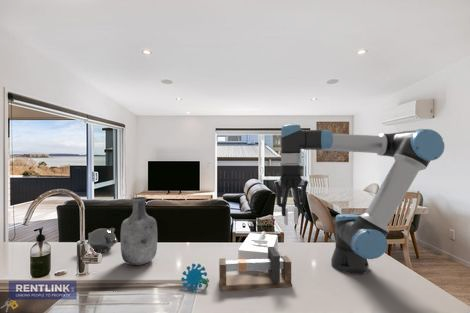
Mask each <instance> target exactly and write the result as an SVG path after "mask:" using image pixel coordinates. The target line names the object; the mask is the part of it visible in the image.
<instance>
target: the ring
mask: <svg viewBox="0 0 470 313" xmlns="http://www.w3.org/2000/svg"><path fill="white" fill-rule="evenodd" d="M280 258H281V255H280V253H279V252H277V251H276V250H275V248H274V247H268V259H272V270H268V272H267V273H269V274H270V276H271V278H272V281H273V283H280V273H281V269H280Z"/></svg>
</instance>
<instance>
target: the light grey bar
mask: <svg viewBox="0 0 470 313" xmlns="http://www.w3.org/2000/svg"><path fill="white" fill-rule="evenodd" d="M281 269H284V260H283V259H282V258H281V257H280V270H281ZM252 270H272V259H251V260H245V259H238V258H237V259H232V260H227V259H226V273H228V272H238V273H240V272H243V273H244V272H247V271H252Z"/></svg>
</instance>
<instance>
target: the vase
mask: <svg viewBox="0 0 470 313" xmlns="http://www.w3.org/2000/svg"><path fill="white" fill-rule="evenodd" d="M147 198H148V197H146V196H136V197H135V196H134V197H131V199H130V202H132V203H131V204H132V212H131V214H130V215H129V217H127V218H125V219H124V220H123V221H122V223H121V225H120V236H119V237H120V252H121V257H122V260H123V262H124V263H126V264H128V265H132V266H139V265H140V266H141V265H144V264H147V263H149V262H151V261H152V260H154V258H155V256H156V255H157V250H158V223H157V220H156V218H154V217H153V216H150V215H149V214H148V213H147V211H146V201H147Z"/></svg>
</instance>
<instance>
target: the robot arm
mask: <svg viewBox="0 0 470 313" xmlns="http://www.w3.org/2000/svg"><path fill="white" fill-rule="evenodd" d="M280 132H281V133H280V156H281V157H280V163H281V164H282V165H281V166H280V178H279V179H278V180H274V181H273V184H274V187H275V196H276V197H275V199H276V205H277V207H279V208H281V216H282V217H283V223H284V225H285V226H288V225H289V221H288V220H289V219H288V218H289V209H288V207H287V202H288V196H289V192H290V189H292V191H293V196H294V197H293V198H294V202H295V206H293V224H295V225H296V226H298V225H299V217H301V208H302V207H304V206H306V201H307V200H306V197H307V186H308V185H309V181H308V180H304V179H303V178H302V175H301V174H302V173H301V170H302V166H301V165H300V164H301V163H302V159H301V154H302V153H301V152H302V150H305V151H309V150H310V151H331V152H332V151H333V152H334V151H336V152H349V153H350V152H351V153H369V154H376V155H377V156H380V157H382V156H384V157H390V158H394V163H393V164H392V165H391V168H390V169H389V171H388V173H387V175H386V176H385V178H384V180H383V182H382V183H381V185H380V186H379V189H377V190H378V191H376V193H375V196H374V197H373V199H372V200H371V202H370V204H369V205H368V207H367V209H366V211H365V212H364V213H362V214H355V213H353V214H352V213H342V214H341V213H339V214H337V215H336V216H335V221H334V223H335V229H334V230H335V247H334V250H333V253H332V257H331V260H330V261H331V263H330V264H331V266H332V267H333V268H334V269H335V270H337V271H340V272H343V273H346V274H351V275H363V274H366V273H367V272H369V268H370V266H369V262H368V260H375V259H378V258H380V257H381V256H383V255H384V254H385V253H386V251H387V249H388V240H387V236H388V234H389V232H390V230H389V227H388V225H389V223H390V222H391V220H392V218H393V217H394V214H395V213H396V211H397V210H398V208H399V206H400V204H401V202H402V201H403V199H404V198H405V196H406V194H407V192H408V191H409V188H410V187H411V186H412V183H413V182H414V180H415V179H416V177H417V175H418V173H419V172H420V171H423V170H426V169H427V167H428V166H429V165H430V162H431V161H435V160H437V159H440V158H441V156H442V155H443V154H444V151H445V142H444V139H443V137H442V135H441V134H440V133H439V132H437V131H435V130H434V129H429V128H418V129H415V130H405V131H399V132H393V133H392V132H390V133H379V134H378V135H371V134H369V135H368V134H347V133H333V132H332V130H329V129H302V128H301V124H285V125H283V126H281V131H280ZM281 184H282V186H283V193H282V195H281V187H280V186H281ZM299 186H301V187H300V195H299Z"/></svg>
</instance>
